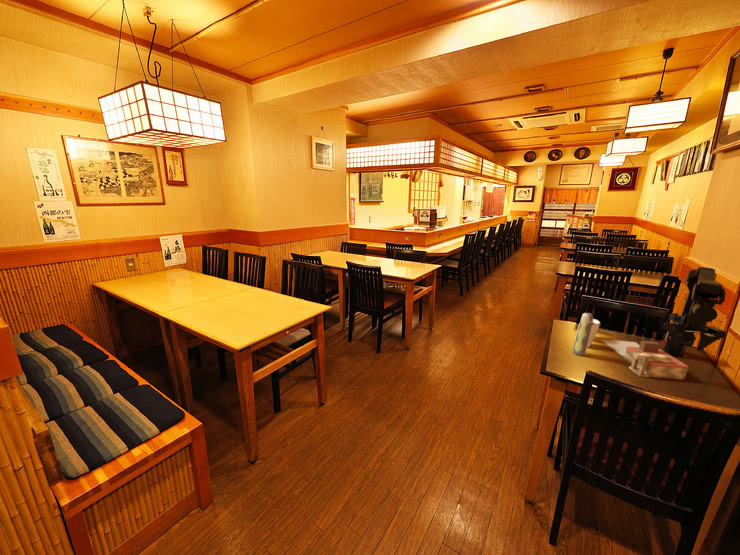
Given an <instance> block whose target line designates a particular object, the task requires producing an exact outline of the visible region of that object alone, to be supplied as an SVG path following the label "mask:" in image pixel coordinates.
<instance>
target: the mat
mask: <svg viewBox="0 0 740 555" xmlns="http://www.w3.org/2000/svg"><path fill="white" fill-rule="evenodd" d="M601 341H602V342H603V343H604V344H605V345H607V346H609V347H610V348H611V349H613V350H614V352H616V353H618V354H619V355H620V356H622V357H624V355H625V352H626V348H627V347H639V346H640V343H639V344H638V343H637V342H636V341H626V340H614V339H613V340H612V339H601Z"/></svg>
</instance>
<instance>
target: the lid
mask: <svg viewBox="0 0 740 555" xmlns="http://www.w3.org/2000/svg"><path fill="white" fill-rule="evenodd" d="M639 345H640V346H639V347H627V348H626V349H628V350H629V351H631V352H632V353H633V352H636V350H639V351H641V353H649V354H661V355H668V356H669V357H671V358H672V359H671V362H670V363H666V362H654V361H648V364H649V365H651V366H663V367H674V368H686V369H688V370H689V365H687V364H685V363H684V362H682V361H680V360H679V359H677V357H673V356H671V355H669V354H668V353H666V352H664V351H663V350H661V349H662V348H660V347H661V344H660V343H659V342H657V341H650V340H641V341H640V343H639Z"/></svg>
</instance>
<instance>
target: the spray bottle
mask: <svg viewBox="0 0 740 555" xmlns="http://www.w3.org/2000/svg"><path fill="white" fill-rule="evenodd" d="M593 319H594V316H593V314H592V313H590V312H584V313H582V315H581V318H580V321H579V323H580V325H579V324H578V326H579V328H578V327H577V330H578V332H577V331H576V334H577V336H576V335H575V338H576V339H574V343H573V347H572V353H573V354H575V355H576V356H579V357H582V356H585V355H586V352H587V348H588V347H587V343H588V339H589V335H590V331H591V327H592V323H593V322H592V321H593Z"/></svg>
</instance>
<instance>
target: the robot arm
mask: <svg viewBox="0 0 740 555" xmlns="http://www.w3.org/2000/svg"><path fill="white" fill-rule="evenodd" d="M716 280H717V273H716V269H715V268H712V267H711V268H710V267H704V266H699V267H697V268H696V269H692V270H689V271H688V272H687V273H686V276H685V279H684V281H685V282H686V283H685V287H686V288H687V290H688V291H687V292H688V293H687V295H686V298H685V301H684V304H683V307H682V310H681V314H679V313H675V312H670V313H669V315H668V321H672V322H665V323H663V325H662V327H661V328H662V329H663V330H665V331H666V332H667V333H666V335H665V341H666V343H665V344H664V348H660V349H661V350H663V351H664V352H666V353H668V354H669V355H671V356H672V357H674V358H687V357H688V356H687V355H685V352H686V350H687V347H690V348H691V347H693V344H694V343H695V341H696V339H697V338H696V334H699V340H698V343H697V345H696V346H697V347H696V350H697V352H701V351H702V350H704V349H705V348H707V347H708V346H709V345H711V344H712V345H713V343H715V342H716V341H720V340H721V339H726V336H727V332H726V330H723V329H721V328H718V327H716V326H712V325H708V324H709V323H713V321H714V320H715V319H717V317H718V311H717V310H716V308H715V306H716V305H717V306H718V305H719V306H722V304H723V303H724V302H725V301H726V300H725V299H726V289H725V288H724V286H723V284H722V283H720V282H718V281H716Z"/></svg>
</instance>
